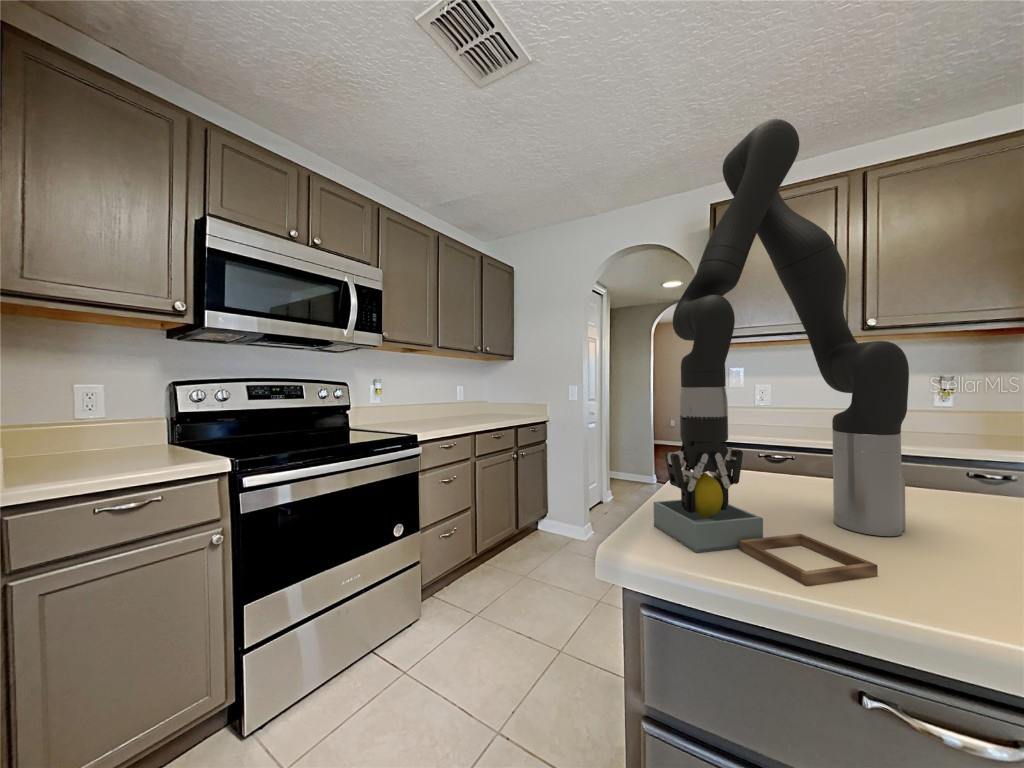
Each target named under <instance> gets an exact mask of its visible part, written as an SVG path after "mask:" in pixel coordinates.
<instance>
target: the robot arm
mask: <svg viewBox="0 0 1024 768" xmlns="http://www.w3.org/2000/svg"><path fill="white" fill-rule="evenodd" d="M799 136H800V135H799V133H798V131H797V130H796V128H795V127H794V126H793V125H792V124H791V123H790V122H789V121H786V120H784V119H780V118H779V119H778V118H772V119H771V118H770V119H768V120H766V121H764V122H762V123H760V124H759V125H757V126H755V128H753V129H752V130H751V131H750V132H748V133H747V135H746V136H745V137H743V139H742V140H740V141H739V142H738V143H737V144H736V146H734V148H732V150H731V151H729V152H728V154H727V155H726V156H725V158H724V160H723V164H722V177H723V179H724V182H725V184H726V186H727V188H728V190H729V191H730V193H731V195H732V196H733V198H732V200H731V201H730V203H729V204H728V207H727V209H726V210H725V212H724V213H723V215H722V216H721V219H720V220H719V221H718V223H717V224H716V226H715V228H714V229H713V231H712V233H711V235H710V237H709V239H708V241H707V243H706V245H705V249H704V251H703V253H702V256H701V259H700V261H699V264H698V267H697V270H696V273H695V275H694V277H693V278H692V280H691V281H690V282H689V284H688V285H687V286H686V289H685V290H684V291H683V294H681V297H680V299H679V300H678V303H677V304H676V306H675V309H674V312H673V315H672V328H673V330H674V333H675V334H676V336H677V337H678V338H680V339H681V340H684V341H693V344H692V349H691V351H690V352H689V353H688V354H686V355H684V356H683V357H682V359H681V362H680V395H679V428H680V429H679V433H680V434H679V435H680V436H679V437H680V439H681V447H680V449H679V450H678V451H674V452H670V451H666V452H665V453H664V458H665V463H666V469H667V474H668V481H669V484H670V486H673V487H676V488H678V489H680V496H681V497H680V498H681V499H680V500H681V505H682V507H683V508H684V510H685V511H687V512H689V513H694V512H695V492H694V491H693V490H694V487H695V484H696V482H697V480H698V479H700V476H701V474H702V473H707V472H708V473H709V474H710V476H711V477H713V478H715V479H716V480H717V481H718V483H719V484H720V486H721V489H722V493H723V503H722V507H721V510H726V509H727V506H728V504H730V503H729V502H730V501H729V488H730V487H731V486H733V485H737V484H739V482H740V478H741V472H742V471H741V470H742V463H743V462H742V461H743V457H744V452H743V450H741V449H738V448H732V447H728V446H727V444H726V443H727V441H728V440H729V420H728V419H729V414H728V413H729V409H728V394H727V386H726V385H727V384H726V378H727V377H726V361H727V357H728V354H729V351H730V345H731V342H732V338H733V335H734V329H735V325H736V323H735V321H736V317H735V313H734V308H733V307H732V304H731V303H730V301H729V300H728V299H727V298H726V297H724V295H726V294H728V293H729V292H731V291H732V290H733V289H735V288H736V286H737V284H738V283H739V282H740V279H741V276H742V273H743V271H744V267H745V266H746V262H747V259H748V256H749V254H750V251H751V248H752V247H753V246H752V245H753V243H754V241H755V238H756V236H758V238H759V240H760V242H761V243H762V245H763V248H764V249H765V251H766V253H767V254H768V255H767V256H768V257H769V259H770V261H771V263H772V266H773V268H774V270H775V273H776V274H777V276H778V278H779V281H780V282H781V284H782V286H783V288H784V291H785V292H786V294H787V296H788V297H789V299H790V301H791V303H792V305H793V307H794V309H795V312H796V314H797V316H798V318H799V320H800V322H801V325H802V326H803V329H804V331H805V334H806V337H807V339H808V341H809V344H810V347H811V349H812V352H813V356H814V359H815V362H816V365H817V367H818V369H819V372H820V374H821V376H822V378H823V380H824V381H825V383H826V384H827V385H828V386H829V387H830V388H831V389H833V390H835V391H838V392H840V393H844V394H851V399H850V401H851V402H850V405H849V406H848V407H847V408H846V409H845V410H843V411H841V412H839V413H836V414H834V415H833V417H832V421H831V424H832V425H831V426H832V480H833V481H832V484H833V486H832V487H833V489H832V494H833V498H832V499H833V522H834V524H835V525H837V526H838V527H841V528H843V529H846V530H849V531H853V532H856V533H860V534H865V535H871V536H881V537H897V536H900V535H902V534H903V531H906V529H907V528H906V525H907V524H906V477H904V475H902V434H901V433H902V424H903V422H904V420H905V418H906V415H907V412H908V402H909V401H908V397H909V386H910V385H909V384H910V383H909V382H910V381H909V380H910V370H909V369H910V367H909V362H908V358H907V355H906V354H905V352H904V351H903V349H902V348H901V347H900V346H899V345H897V344H895V343H894V342H890V341H887V340H876V341H875V340H874V341H865V342H857V340H856V339H855V337H854V335H853V334H852V332H851V329H850V327H849V325H848V323H847V320H846V317H845V311H844V310H845V309H844V303H845V295H846V287H847V270H846V266H845V263H844V261H843V259H842V256H841V255H840V253H839V251H838V249H837V246H836V245H835V243H834V241H833V239H832V237H831V236H830V234H829V233H828V232H827V231H826V230H825V229H823V228H822V227H820V226H819V225H817V224H816V223H814V222H813V221H812V220H810V219H807V218H806V217H804V216H803V215H800V214H799V213H798V212H796V211H795V210H793V209H792V208H790V206H789V205H787V203H786V202H785V201H784V199H783V197H782V195H781V193H780V192H779V189H780V187H781V186H782V184H783V182H784V181H785V178H786V177H787V175H788V174H789V172H790V170H791V168H792V166H793V164H794V163H795V161H796V159H797V157H798V153H799V150H800V138H799ZM683 460H684V464H683ZM724 461H725V462H724ZM682 464H683V466H682ZM691 471H692V472H691Z"/></svg>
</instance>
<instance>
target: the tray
mask: <svg viewBox="0 0 1024 768" xmlns="http://www.w3.org/2000/svg"><path fill="white" fill-rule="evenodd" d="M797 546H802V547H804V548H807V549H809V550H811V551H814V552H816V553H818V554H821V555H823V556H825V557H827V558H830V559H832V560H834V561H836V562H839V563H840V564H843V565H842V566H835V567H825V568H819V569H817V568H816V569H813V570H812V569H811V570H805V569H803V568H801V567H799V566H797V565H795V564H793V563H791V562H789V561H788V560H785V559H784V558H781V557H779V556H777V555H774V554H773V553H770V552H769V551H767V550H769V549H778V548H788V547H797ZM738 550H739V551H741V552H743V553H744V554H746V555H749V556H750V557H751V558H753V559H756V560H757V561H759V562H762V563H763V564H765V565H767V566H769V567H771V568H772V569H775V570H776V571H778V572H780V573H782V574H784V575H785V576H787V577H789V578H791V579H793V580H795V581H797V582H798V583H800V584H802V585H804V586H806V587H807V586H808V587H809V586H815V585H817V586H818V585H822V584H824V585H825V584H829V583H835V582H843V581H844V582H845V581H850V580H858V579H865V578H872V577H878V564H877V563H874V562H871V561H869V560H866V559H864V558H861V557H859V556H856V555H854V554H852V553H849V552H846V551H844V550H842V549H840V548H837V547H835V546H831V545H829V544H827V543H825V542H822V541H820V540H817V539H815V538H813V537H810V536H807V535H804V534H803V533H795V534H785V535H776V536H769V537H768V536H767V537H763V538H756V539H747V540H739V548H738Z"/></svg>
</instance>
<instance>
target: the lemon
mask: <svg viewBox="0 0 1024 768" xmlns="http://www.w3.org/2000/svg"><path fill="white" fill-rule="evenodd" d="M693 491H694V492H695V512H696V513H698V514H700V515H701V516H702V517H703V518H705V519H707V518H709V517H710V516H711V515H714V514H716V513H717V512H718V511H719V510H720V509H721V507H722V503H723V493H722V489H721V486H720V484H719V483H718V481H717V480H716V479H715V478H713V477H712V475H709V474H708V473H707V472H705V473H702V474H701V476H700V479H698V480H697V482H696V484H695V487H694V490H693Z"/></svg>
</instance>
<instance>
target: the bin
mask: <svg viewBox="0 0 1024 768" xmlns="http://www.w3.org/2000/svg"><path fill="white" fill-rule="evenodd" d="M653 527H655V528H656V529H658V530H660V531H661V532H663V533H664V534H666V535H668V536H669V537H671V538H672V539H674V540H675V539H676V540H675V541H677V542H678V541H679V542H678V543H680V544H681V543H682V545H683V546H684V547H686V548H688V549H689V548H690V550H691V551H692V550H693V552H694V553H695V554H699V553H700V554H701V553H702V554H703V553H708V552H718V551H726V550H728V551H729V550H736V549H739V540H747V539H756V538H764V518H763V517H762V516H759V515H756V514H755V513H752V512H749V511H748V510H744V509H743V508H739V507H737V506H734V505H732V504H730V503H728V506H727V509H726V510H721V509H720V510H719V511H718V512H717V513H716V514H714V515H711V516H710V517H709V518H707V519H705V518H703V517H702V516H701V515H700V514H698V513H696V512H694V513H689V512H687V511H685V510H684V508H683V507H682V505H681V499H672V500H671V499H669V500H659V501H653Z"/></svg>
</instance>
